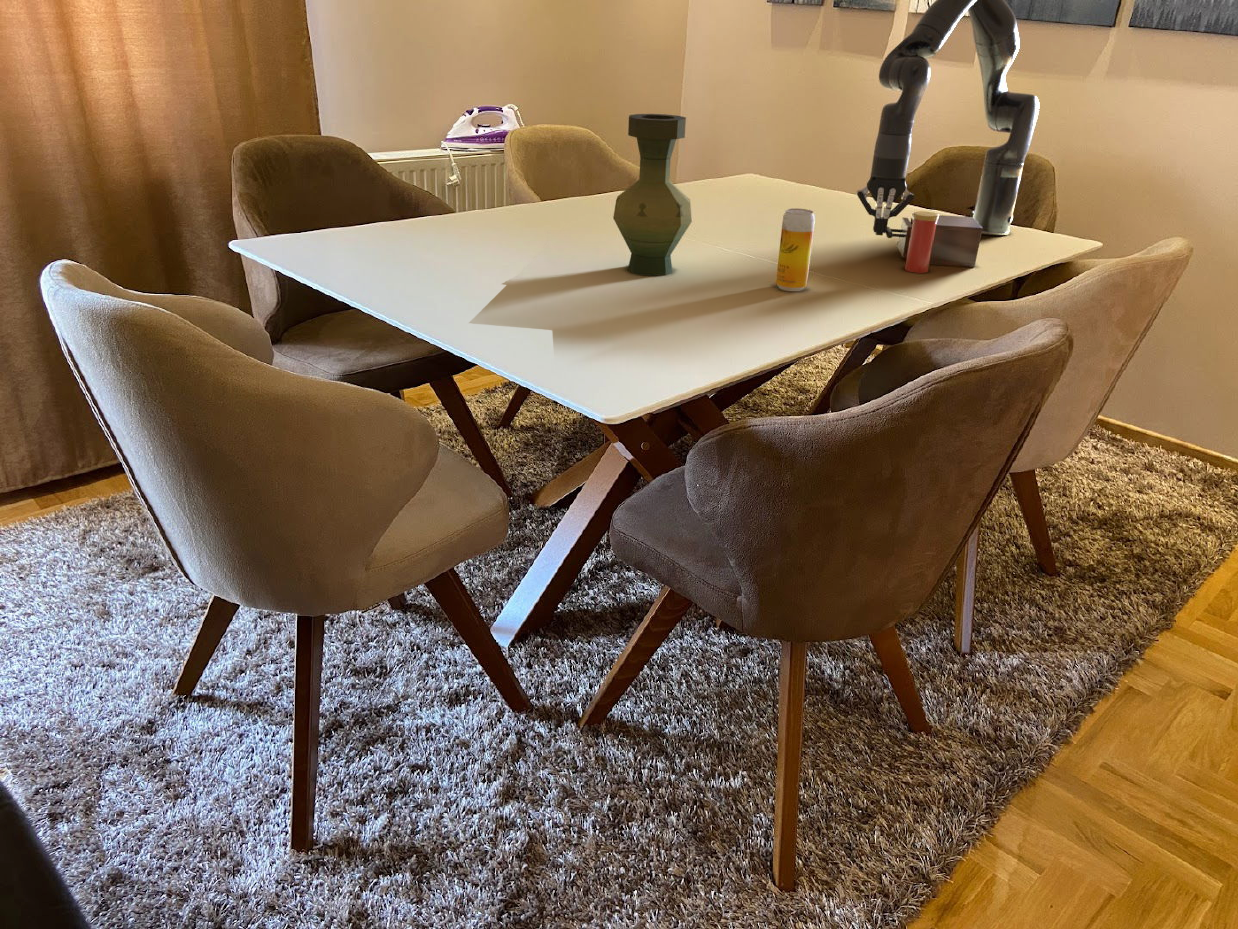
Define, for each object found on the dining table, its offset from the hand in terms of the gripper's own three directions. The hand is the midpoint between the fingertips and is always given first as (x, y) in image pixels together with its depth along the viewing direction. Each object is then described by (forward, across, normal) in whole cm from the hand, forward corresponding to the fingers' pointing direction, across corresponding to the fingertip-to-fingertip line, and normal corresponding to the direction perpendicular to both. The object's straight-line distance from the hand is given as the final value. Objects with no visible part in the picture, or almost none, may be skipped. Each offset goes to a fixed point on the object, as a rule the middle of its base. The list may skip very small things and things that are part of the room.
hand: (878, 234), depth 209 cm
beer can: (+5, +19, +34) cm, 40 cm away
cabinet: (+4, -14, 0) cm, 15 cm away
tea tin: (+4, -8, +12) cm, 15 cm away
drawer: (+4, -10, 0) cm, 10 cm away
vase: (+5, +48, +28) cm, 56 cm away
